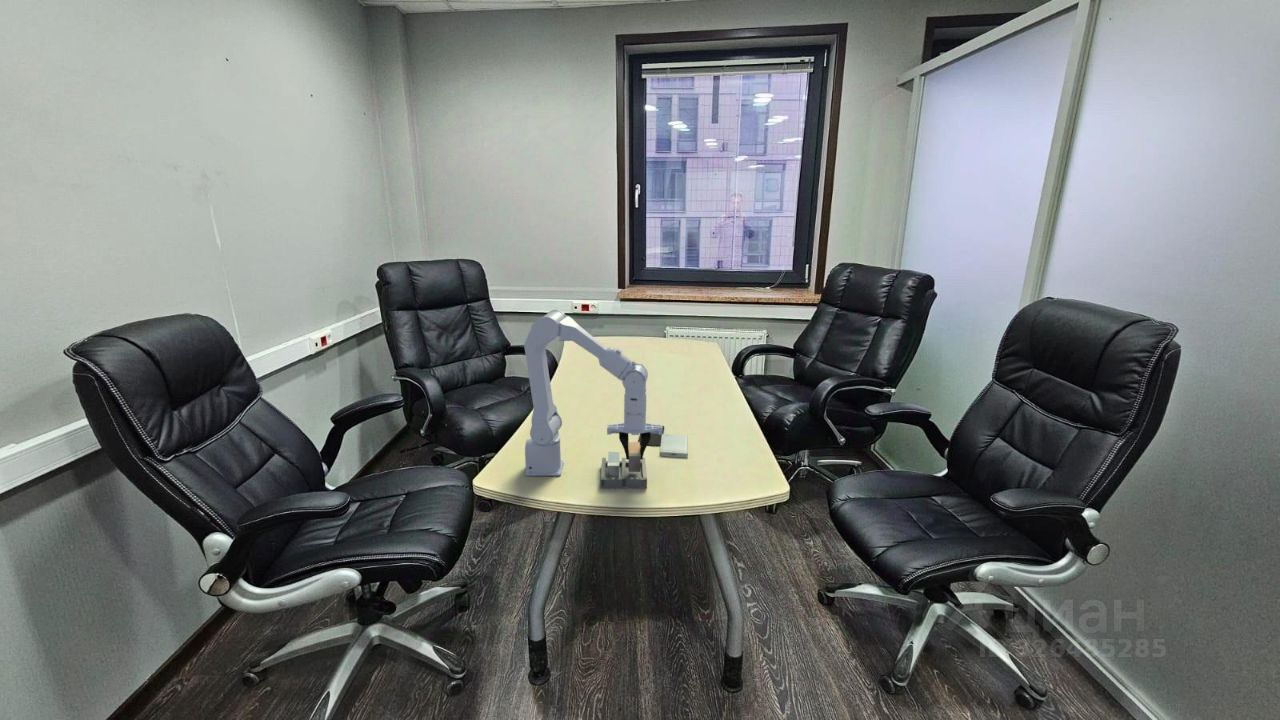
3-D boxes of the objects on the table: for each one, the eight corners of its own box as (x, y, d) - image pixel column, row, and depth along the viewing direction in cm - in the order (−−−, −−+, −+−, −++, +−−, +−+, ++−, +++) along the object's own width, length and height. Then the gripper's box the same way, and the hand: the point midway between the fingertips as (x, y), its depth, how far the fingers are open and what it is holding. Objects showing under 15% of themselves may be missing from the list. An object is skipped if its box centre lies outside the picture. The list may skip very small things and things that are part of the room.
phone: (636, 444, 160) (642, 423, 174) (636, 446, 160) (642, 426, 175) (660, 445, 159) (664, 425, 173) (660, 448, 159) (664, 427, 174)
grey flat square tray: (600, 488, 136) (600, 479, 135) (602, 465, 147) (602, 457, 146) (646, 488, 136) (647, 479, 135) (644, 465, 148) (645, 457, 147)
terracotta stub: (628, 471, 137) (628, 456, 136) (628, 456, 145) (628, 441, 143) (640, 471, 137) (640, 456, 136) (639, 456, 145) (639, 441, 144)
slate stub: (607, 481, 138) (607, 465, 137) (608, 466, 146) (608, 451, 144) (619, 481, 138) (619, 465, 137) (619, 466, 146) (619, 451, 144)
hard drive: (661, 433, 165) (659, 451, 153) (687, 435, 165) (687, 453, 153) (661, 438, 166) (659, 456, 154) (687, 440, 165) (687, 458, 153)
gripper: (606, 416, 132) (606, 465, 136) (664, 417, 133) (662, 465, 137) (607, 406, 139) (607, 452, 143) (661, 406, 139) (660, 452, 143)
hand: (634, 457), depth 140 cm, fingers closed on terracotta stub, 3 cm apart
